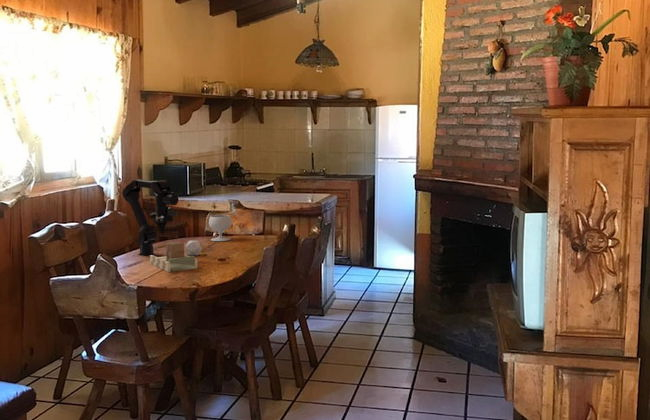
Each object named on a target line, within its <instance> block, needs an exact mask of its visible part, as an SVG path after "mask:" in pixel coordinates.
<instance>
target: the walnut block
mask: <svg viewBox="0 0 650 420" xmlns="http://www.w3.org/2000/svg"><path fill="white" fill-rule="evenodd" d="M184 254H185V243H184V242H181V241H173V242H166V243H165V256H166V261H168V262H169V259H173V258H182V257H184Z"/></svg>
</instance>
